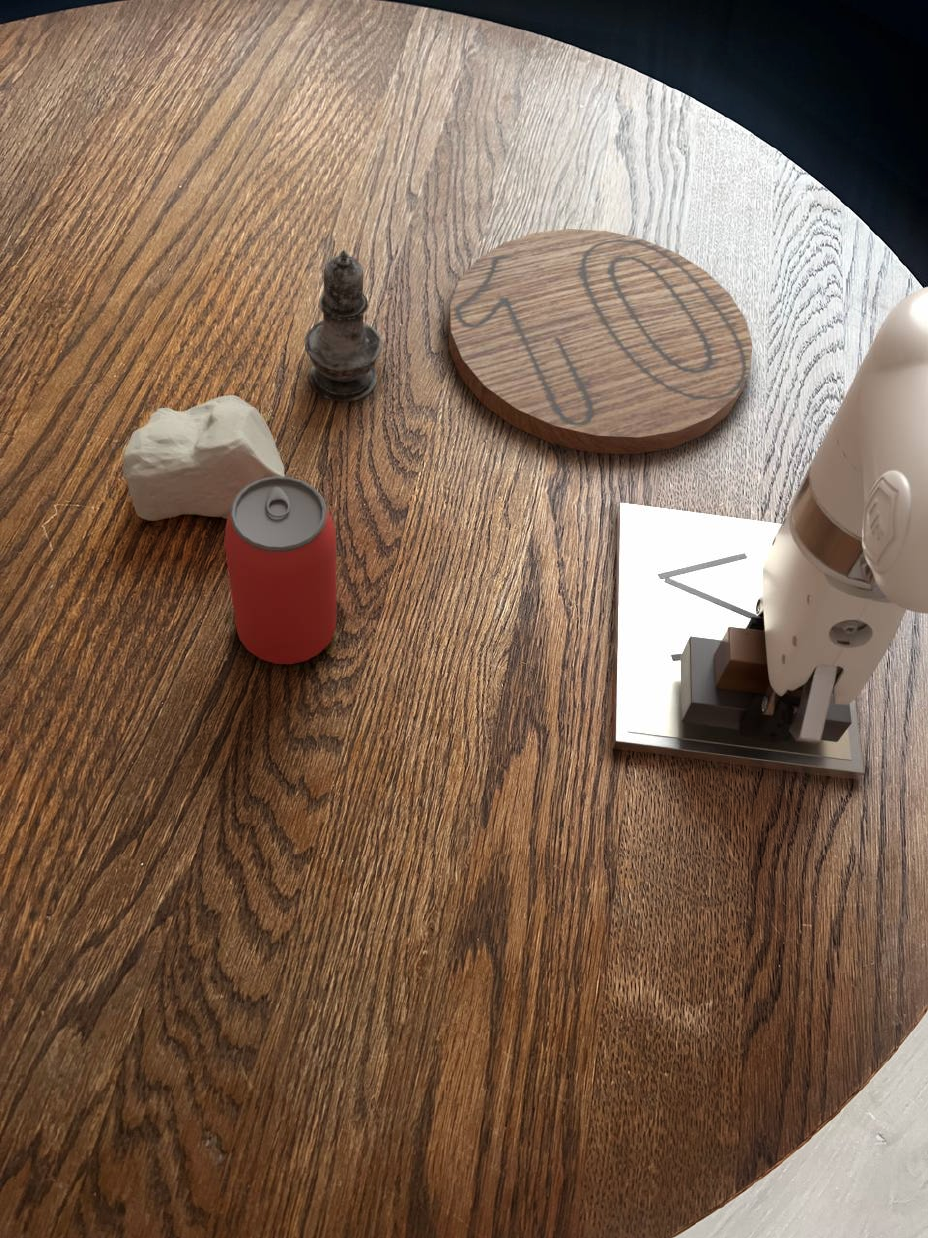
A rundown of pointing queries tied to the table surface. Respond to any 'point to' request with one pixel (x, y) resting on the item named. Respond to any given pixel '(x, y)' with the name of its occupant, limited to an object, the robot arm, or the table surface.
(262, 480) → the beer can
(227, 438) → the decorative stone
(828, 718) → the eraser
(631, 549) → the whiteboard
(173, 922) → the table surface
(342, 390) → the dark chess piece
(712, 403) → the trivet
